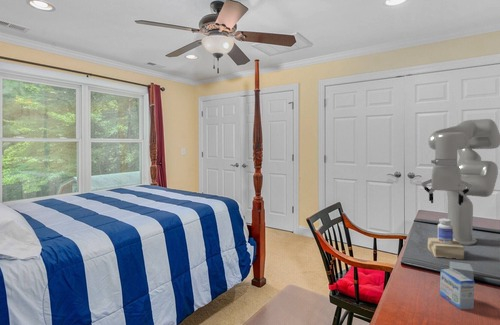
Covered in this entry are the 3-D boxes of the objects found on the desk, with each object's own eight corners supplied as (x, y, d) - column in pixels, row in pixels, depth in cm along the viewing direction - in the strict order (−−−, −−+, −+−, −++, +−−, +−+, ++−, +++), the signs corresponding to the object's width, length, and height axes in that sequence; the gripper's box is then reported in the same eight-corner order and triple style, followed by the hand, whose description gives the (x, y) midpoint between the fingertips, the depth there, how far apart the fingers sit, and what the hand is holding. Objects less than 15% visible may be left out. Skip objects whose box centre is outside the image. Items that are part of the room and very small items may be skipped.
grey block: (449, 271, 104) (449, 261, 104) (469, 274, 101) (469, 264, 101) (452, 279, 99) (452, 268, 99) (473, 282, 96) (473, 271, 96)
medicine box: (439, 295, 89) (439, 269, 88) (452, 294, 89) (453, 267, 89) (460, 310, 81) (460, 281, 80) (474, 309, 81) (475, 280, 81)
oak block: (427, 248, 126) (427, 237, 125) (453, 249, 123) (453, 238, 123) (435, 257, 116) (435, 245, 116) (463, 259, 113) (464, 247, 113)
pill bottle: (455, 244, 116) (455, 221, 115) (441, 244, 117) (441, 221, 116) (448, 240, 121) (449, 217, 120) (435, 239, 122) (435, 217, 122)
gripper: (421, 163, 118) (421, 203, 119) (473, 164, 109) (473, 207, 110) (421, 162, 124) (421, 200, 126) (471, 162, 115) (470, 203, 117)
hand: (445, 203), depth 118 cm, fingers open, 9 cm apart
